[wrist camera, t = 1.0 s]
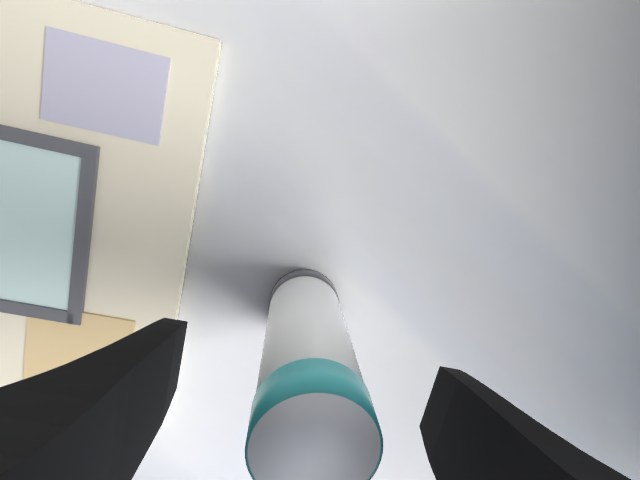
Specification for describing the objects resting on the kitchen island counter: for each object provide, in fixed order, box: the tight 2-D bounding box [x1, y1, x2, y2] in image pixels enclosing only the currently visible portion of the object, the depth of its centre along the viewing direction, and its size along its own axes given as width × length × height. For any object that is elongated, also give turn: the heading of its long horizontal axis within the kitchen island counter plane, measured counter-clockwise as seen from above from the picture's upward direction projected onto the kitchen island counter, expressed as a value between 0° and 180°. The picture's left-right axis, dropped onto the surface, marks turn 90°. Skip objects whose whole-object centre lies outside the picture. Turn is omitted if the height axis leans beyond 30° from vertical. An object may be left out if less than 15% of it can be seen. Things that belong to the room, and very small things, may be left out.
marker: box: [245, 269, 383, 480], centre depth 11 cm, size 3×3×8 cm
